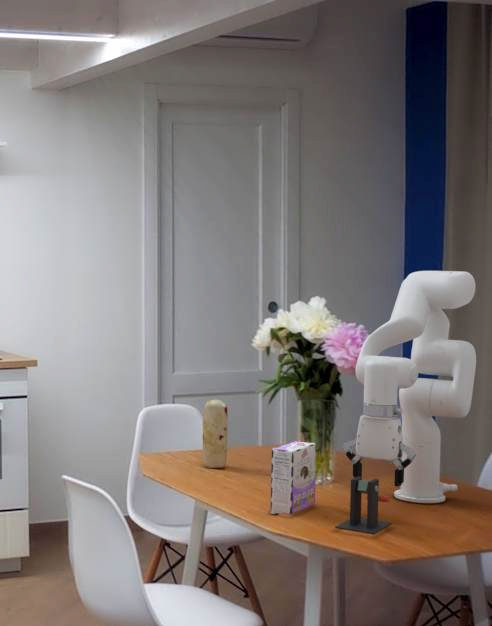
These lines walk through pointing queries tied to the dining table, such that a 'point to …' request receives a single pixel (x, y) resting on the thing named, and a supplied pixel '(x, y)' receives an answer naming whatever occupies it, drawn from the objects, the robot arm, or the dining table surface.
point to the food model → (215, 434)
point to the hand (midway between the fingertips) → (377, 482)
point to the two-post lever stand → (371, 523)
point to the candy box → (293, 477)
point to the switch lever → (364, 489)
